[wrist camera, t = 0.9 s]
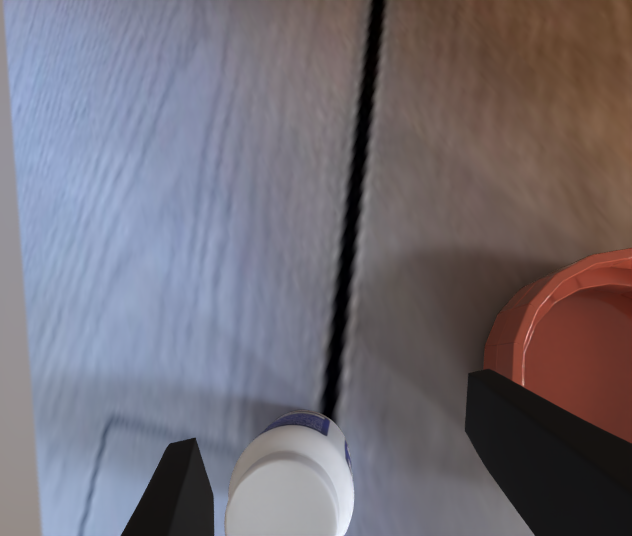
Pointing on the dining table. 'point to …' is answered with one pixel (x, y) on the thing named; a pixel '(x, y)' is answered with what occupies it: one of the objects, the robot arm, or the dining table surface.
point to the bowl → (573, 340)
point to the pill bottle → (292, 480)
